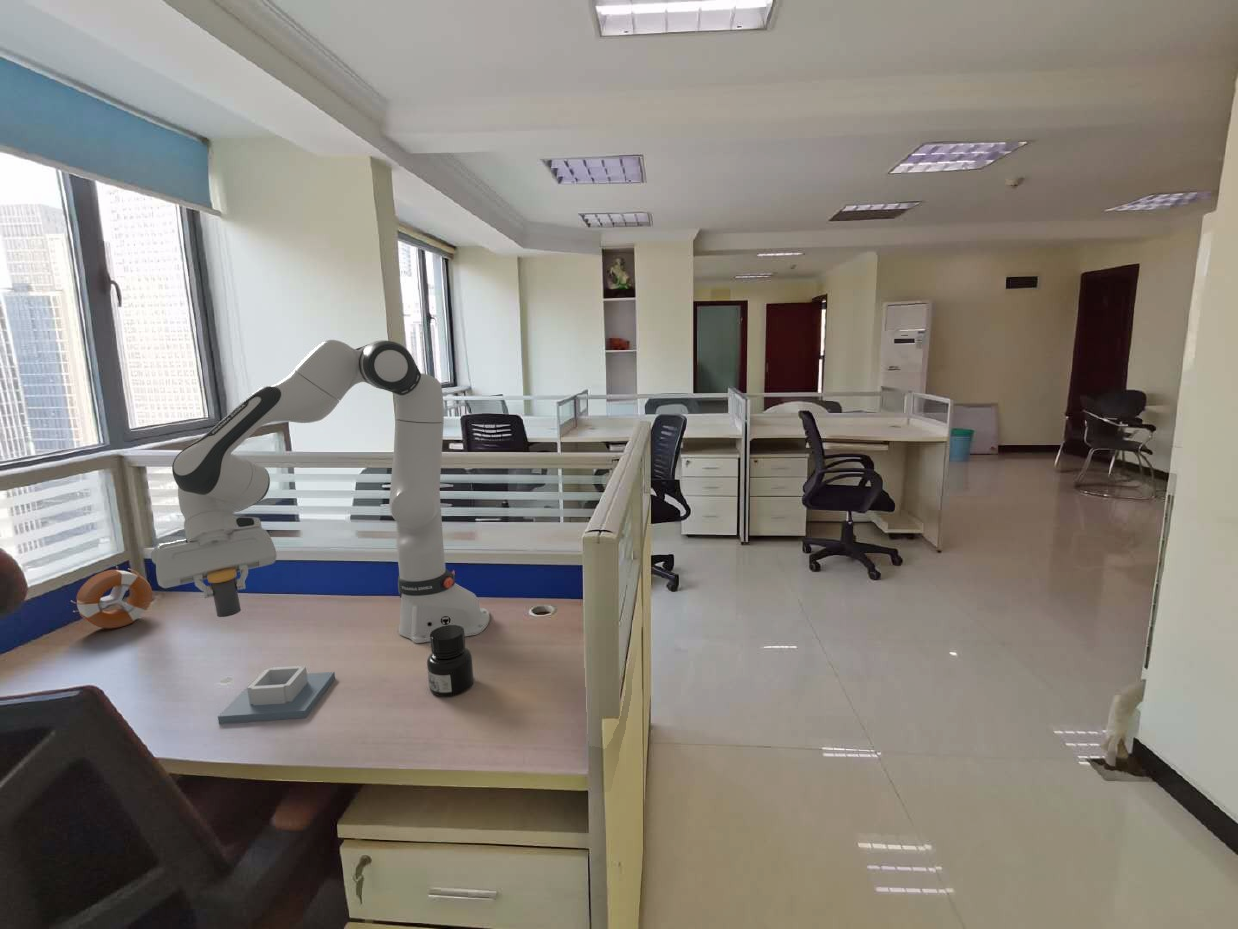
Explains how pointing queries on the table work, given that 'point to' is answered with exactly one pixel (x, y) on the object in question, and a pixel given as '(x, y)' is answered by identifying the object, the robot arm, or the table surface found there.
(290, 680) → the mount
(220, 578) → the knob
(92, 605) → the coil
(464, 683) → the ink bottle
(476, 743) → the table surface
